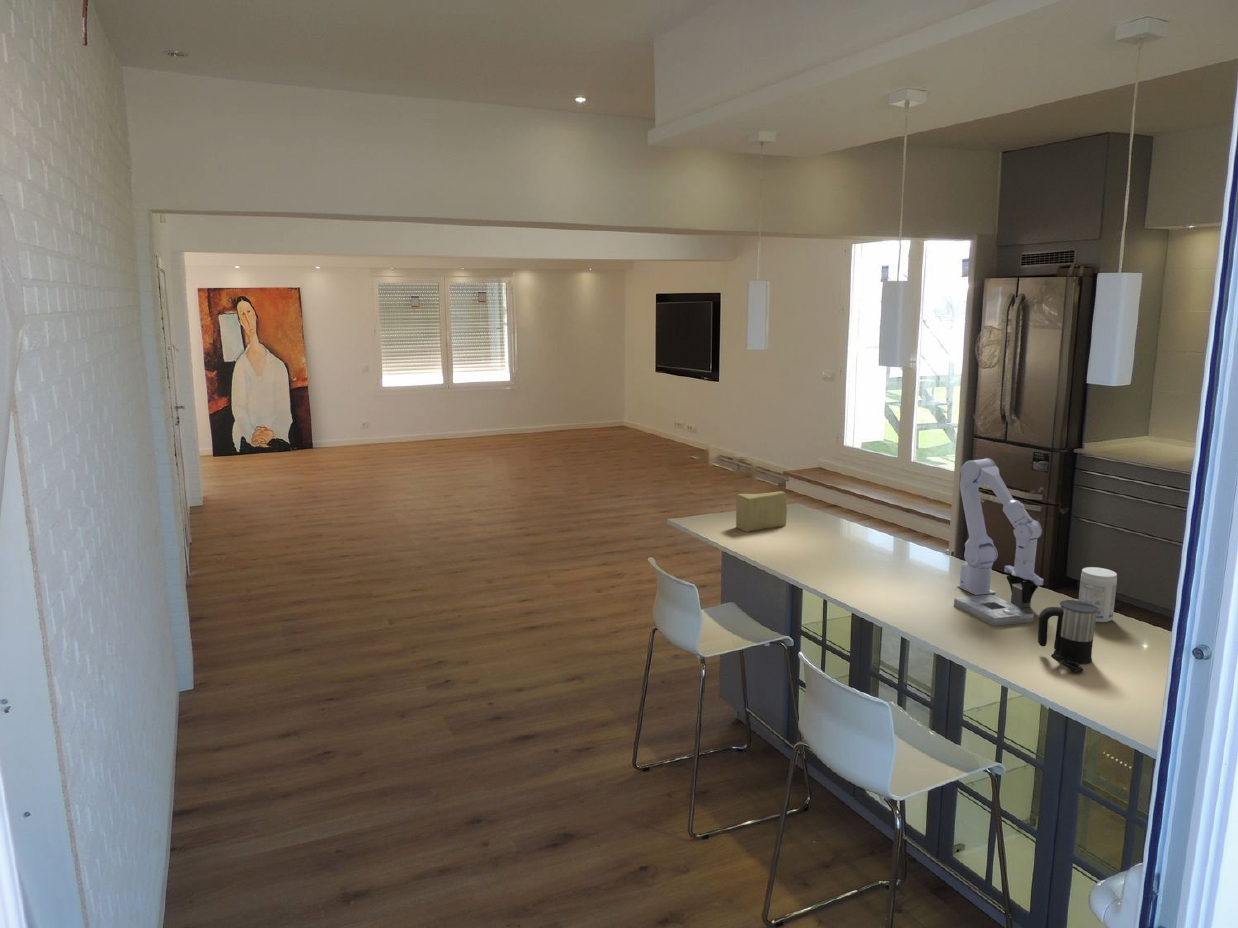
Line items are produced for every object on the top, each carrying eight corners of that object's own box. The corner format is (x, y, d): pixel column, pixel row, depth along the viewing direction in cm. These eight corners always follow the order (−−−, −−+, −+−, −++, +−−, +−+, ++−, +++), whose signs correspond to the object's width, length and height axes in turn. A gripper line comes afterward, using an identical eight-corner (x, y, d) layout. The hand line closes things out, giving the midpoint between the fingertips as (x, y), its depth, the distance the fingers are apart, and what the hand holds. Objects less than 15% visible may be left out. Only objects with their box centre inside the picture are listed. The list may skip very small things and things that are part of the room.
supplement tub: (1095, 610, 261) (1100, 565, 258) (1120, 621, 252) (1125, 575, 249) (1069, 613, 259) (1074, 567, 256) (1093, 624, 250) (1099, 577, 247)
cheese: (779, 522, 366) (780, 489, 363) (791, 528, 357) (793, 493, 354) (734, 527, 358) (735, 492, 355) (746, 532, 349) (747, 497, 346)
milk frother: (1080, 650, 231) (1086, 599, 228) (1115, 675, 215) (1122, 620, 213) (1029, 650, 230) (1034, 599, 228) (1060, 675, 215) (1066, 620, 212)
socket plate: (953, 605, 265) (954, 596, 264) (990, 601, 269) (991, 592, 268) (993, 626, 248) (994, 616, 247) (1032, 621, 252) (1033, 611, 251)
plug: (1010, 603, 267) (1012, 583, 266) (1021, 602, 268) (1023, 582, 267) (1019, 607, 263) (1021, 588, 262) (1030, 606, 264) (1032, 587, 263)
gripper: (998, 553, 269) (994, 593, 271) (1031, 566, 255) (1027, 609, 258) (1016, 551, 271) (1012, 591, 273) (1050, 564, 257) (1046, 607, 260)
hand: (1020, 600), depth 266 cm, fingers closed on plug, 4 cm apart
